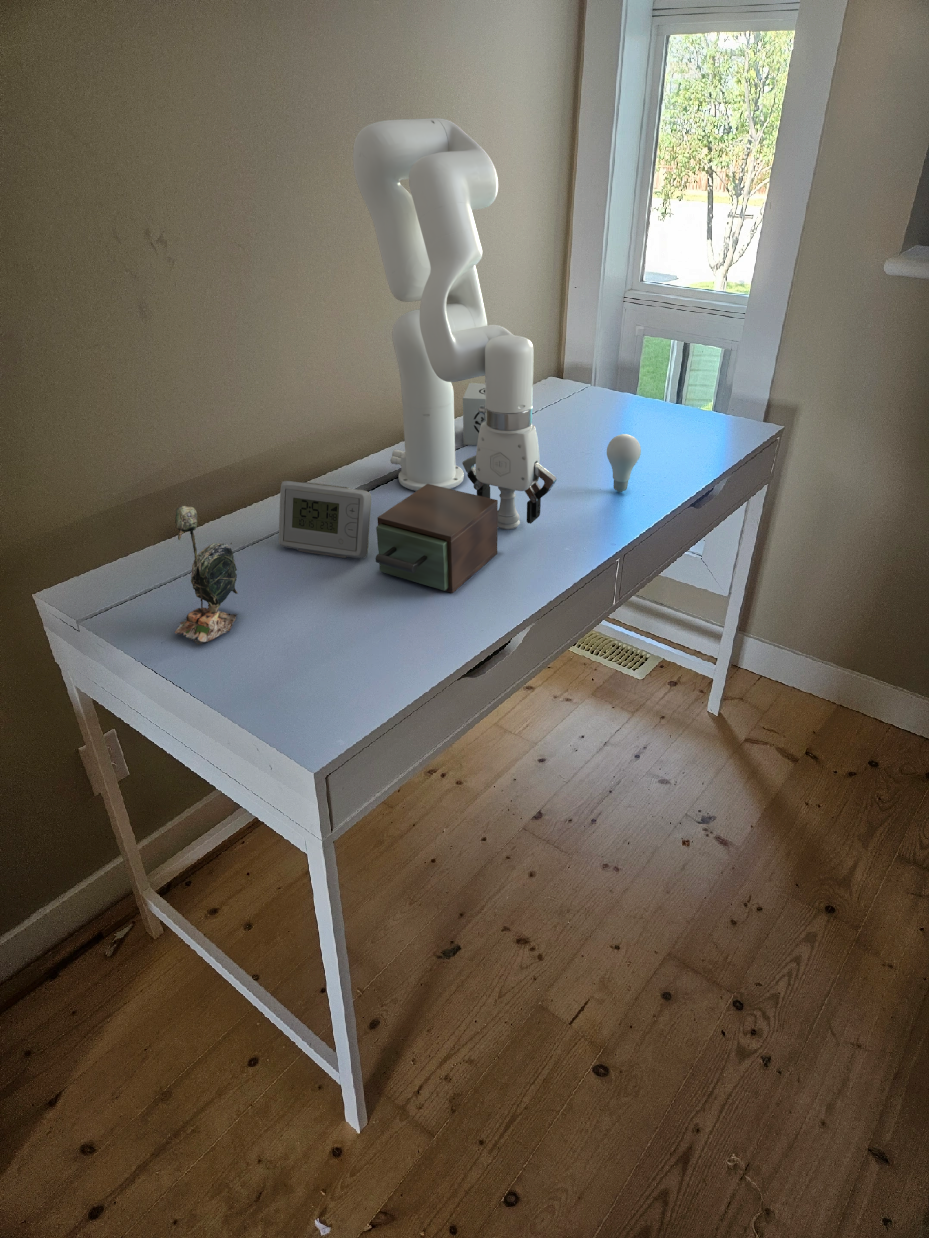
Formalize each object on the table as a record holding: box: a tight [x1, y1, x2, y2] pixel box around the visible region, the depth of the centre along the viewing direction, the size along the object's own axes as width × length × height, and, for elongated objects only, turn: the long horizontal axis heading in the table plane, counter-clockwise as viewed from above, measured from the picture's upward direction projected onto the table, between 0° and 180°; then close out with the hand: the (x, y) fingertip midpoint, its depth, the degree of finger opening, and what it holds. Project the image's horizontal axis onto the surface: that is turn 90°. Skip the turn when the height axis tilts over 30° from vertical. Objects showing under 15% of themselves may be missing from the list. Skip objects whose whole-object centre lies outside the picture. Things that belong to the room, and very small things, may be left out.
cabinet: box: [376, 484, 499, 594], centre depth 130 cm, size 14×13×10 cm
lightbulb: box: [606, 433, 642, 493], centre depth 151 cm, size 6×6×11 cm
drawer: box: [375, 524, 449, 592], centre depth 127 cm, size 17×12×8 cm
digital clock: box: [278, 480, 372, 559], centre depth 135 cm, size 16×9×11 cm, turn 60°
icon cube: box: [462, 382, 485, 446], centre depth 176 cm, size 10×10×10 cm
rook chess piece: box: [497, 487, 521, 531], centre depth 141 cm, size 4×4×8 cm
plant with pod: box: [174, 505, 239, 645], centre depth 113 cm, size 8×11×20 cm
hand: (508, 514), depth 142 cm, fingers open, 9 cm apart
